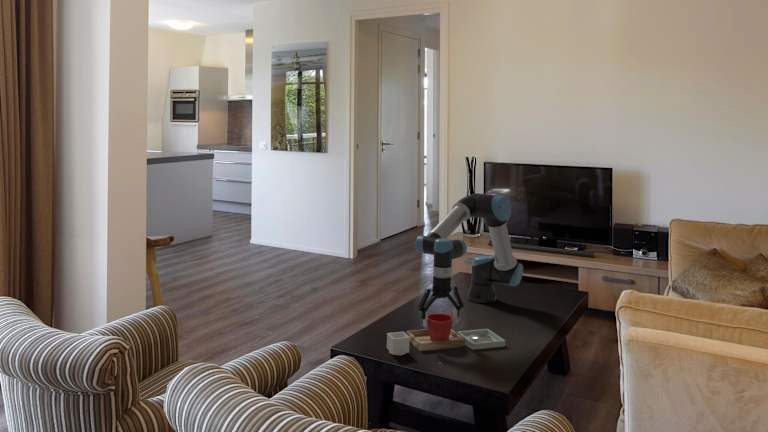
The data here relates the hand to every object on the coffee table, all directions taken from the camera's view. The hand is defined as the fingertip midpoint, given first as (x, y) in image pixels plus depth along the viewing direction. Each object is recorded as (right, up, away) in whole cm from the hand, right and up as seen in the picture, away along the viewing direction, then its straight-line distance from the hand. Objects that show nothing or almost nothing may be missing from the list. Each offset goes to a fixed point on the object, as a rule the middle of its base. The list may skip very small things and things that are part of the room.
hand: (440, 325), depth 249 cm
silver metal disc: (+17, -6, +2) cm, 19 cm away
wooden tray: (-2, -7, 0) cm, 7 cm away
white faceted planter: (-18, -9, -12) cm, 23 cm away
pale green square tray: (+17, -7, +2) cm, 19 cm away
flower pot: (0, -6, +1) cm, 6 cm away
